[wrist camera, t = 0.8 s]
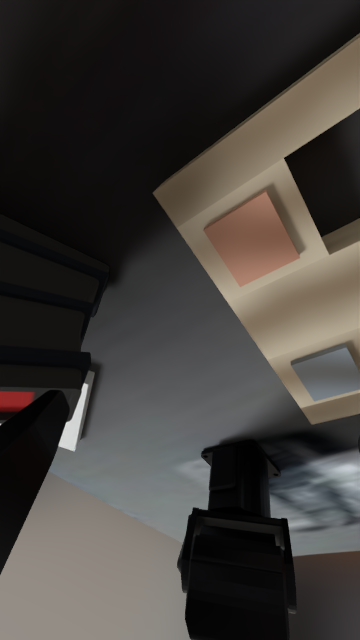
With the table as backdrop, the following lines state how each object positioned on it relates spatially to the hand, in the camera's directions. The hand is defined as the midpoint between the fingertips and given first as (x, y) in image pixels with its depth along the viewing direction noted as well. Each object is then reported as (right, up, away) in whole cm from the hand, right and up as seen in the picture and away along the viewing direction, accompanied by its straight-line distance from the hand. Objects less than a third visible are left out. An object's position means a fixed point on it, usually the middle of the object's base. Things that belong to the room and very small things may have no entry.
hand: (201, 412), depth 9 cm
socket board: (+10, +6, +10) cm, 15 cm away
